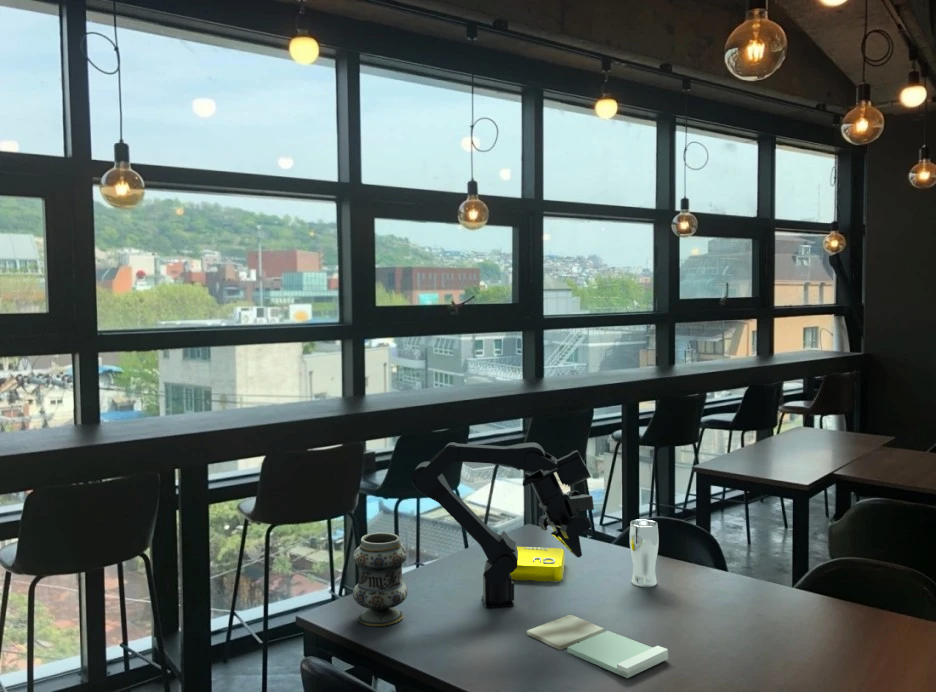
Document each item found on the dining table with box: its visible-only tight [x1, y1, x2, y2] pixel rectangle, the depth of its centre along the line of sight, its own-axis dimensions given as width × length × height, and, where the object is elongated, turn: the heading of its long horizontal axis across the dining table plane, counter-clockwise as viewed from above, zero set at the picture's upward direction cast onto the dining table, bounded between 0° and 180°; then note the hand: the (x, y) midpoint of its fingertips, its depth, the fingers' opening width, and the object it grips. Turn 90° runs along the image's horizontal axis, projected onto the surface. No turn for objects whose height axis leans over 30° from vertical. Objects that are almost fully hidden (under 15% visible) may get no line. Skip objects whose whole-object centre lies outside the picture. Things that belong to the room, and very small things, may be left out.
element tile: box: [510, 546, 566, 583], centre depth 194 cm, size 15×15×5 cm
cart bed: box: [526, 614, 605, 651], centre depth 156 cm, size 10×13×1 cm
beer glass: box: [629, 518, 660, 588], centre depth 184 cm, size 7×7×15 cm
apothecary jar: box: [352, 532, 409, 627], centre depth 164 cm, size 12×12×18 cm
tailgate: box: [566, 630, 669, 679], centre depth 145 cm, size 2×12×15 cm
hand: (579, 556), depth 171 cm, fingers closed
